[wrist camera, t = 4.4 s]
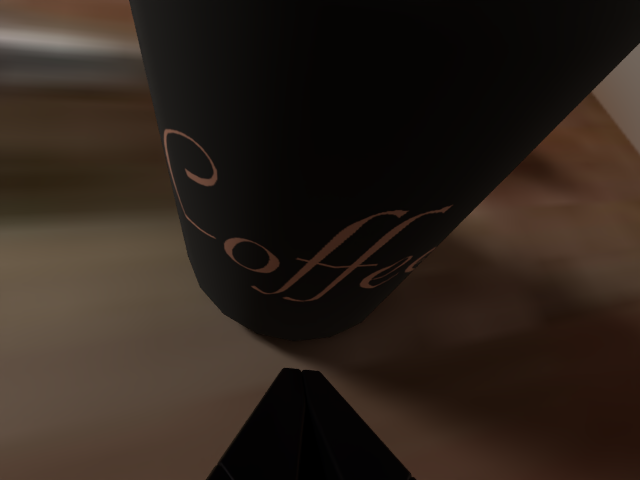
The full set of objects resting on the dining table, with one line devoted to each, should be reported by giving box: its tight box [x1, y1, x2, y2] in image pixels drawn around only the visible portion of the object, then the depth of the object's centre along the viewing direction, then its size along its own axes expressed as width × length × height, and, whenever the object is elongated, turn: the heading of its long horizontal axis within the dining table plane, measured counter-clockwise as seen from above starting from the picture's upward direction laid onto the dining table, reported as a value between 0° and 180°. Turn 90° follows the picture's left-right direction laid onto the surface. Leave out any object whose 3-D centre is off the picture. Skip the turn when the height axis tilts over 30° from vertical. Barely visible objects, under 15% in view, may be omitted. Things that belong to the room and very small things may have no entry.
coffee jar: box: [129, 0, 640, 341], centre depth 12 cm, size 11×11×18 cm
